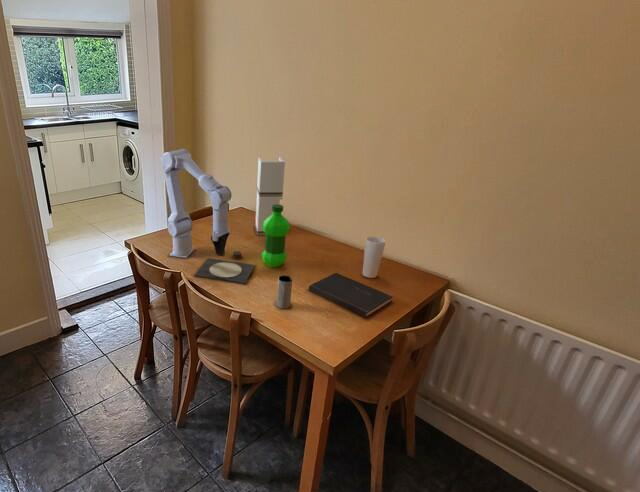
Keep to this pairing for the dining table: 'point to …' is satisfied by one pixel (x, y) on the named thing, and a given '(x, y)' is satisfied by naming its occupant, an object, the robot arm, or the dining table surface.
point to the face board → (225, 271)
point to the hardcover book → (351, 294)
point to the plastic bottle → (275, 237)
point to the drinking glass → (372, 256)
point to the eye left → (221, 253)
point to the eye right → (237, 255)
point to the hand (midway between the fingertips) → (220, 251)
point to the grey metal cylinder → (284, 291)
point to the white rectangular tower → (268, 190)
